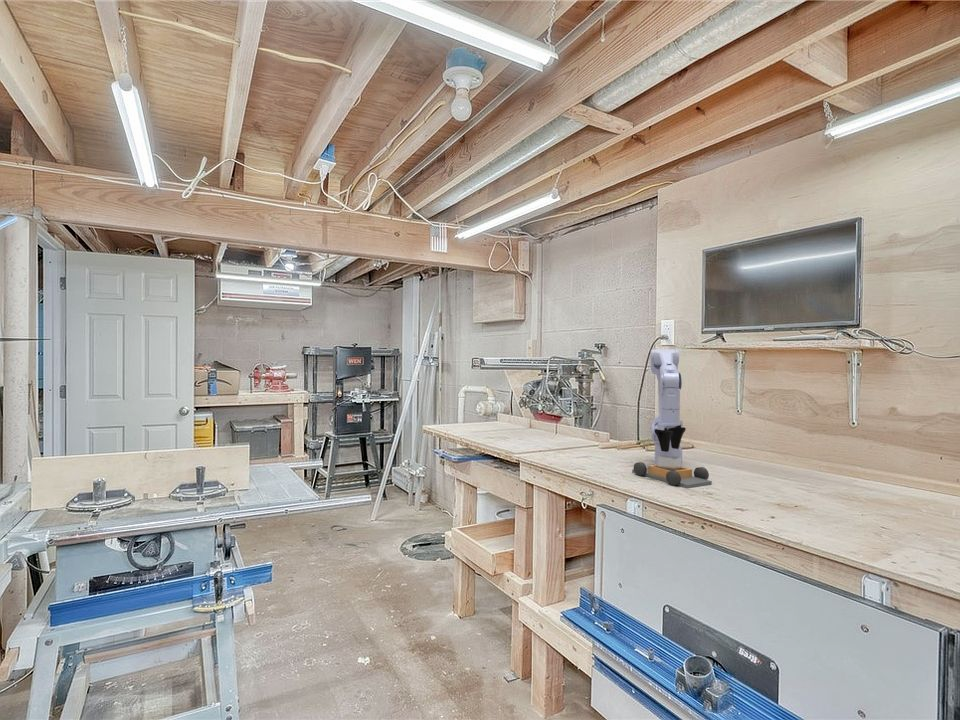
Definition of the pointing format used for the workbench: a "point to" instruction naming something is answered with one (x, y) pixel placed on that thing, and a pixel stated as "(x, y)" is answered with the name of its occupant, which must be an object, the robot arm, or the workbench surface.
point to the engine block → (669, 462)
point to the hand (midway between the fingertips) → (670, 449)
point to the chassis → (674, 475)
